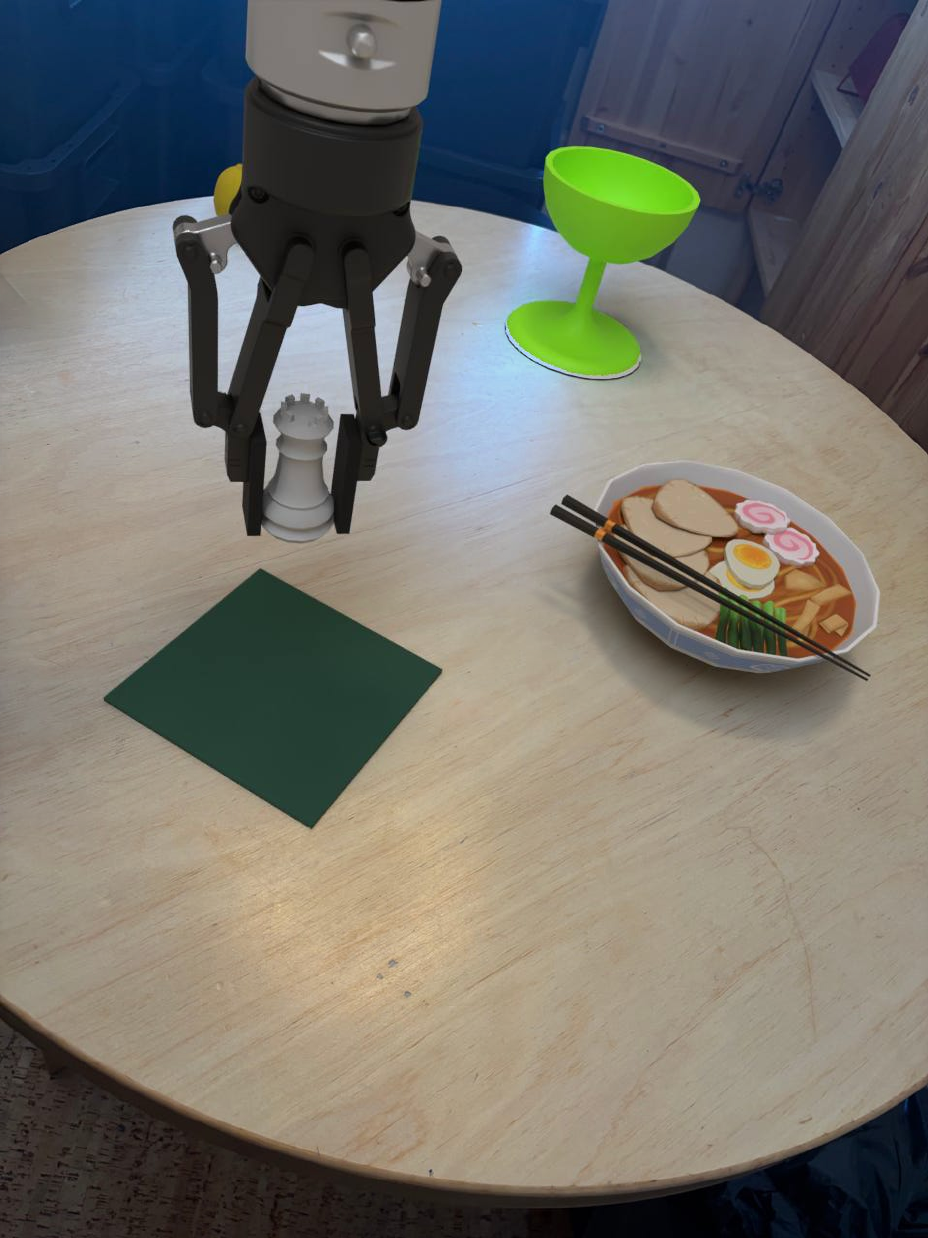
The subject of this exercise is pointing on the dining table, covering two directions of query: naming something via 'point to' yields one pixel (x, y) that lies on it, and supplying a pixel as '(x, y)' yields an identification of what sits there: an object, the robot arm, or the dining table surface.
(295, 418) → the rook chess piece
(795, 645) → the ramen bowl
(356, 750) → the mat
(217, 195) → the lemon
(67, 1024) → the dining table surface
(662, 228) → the wineglass
